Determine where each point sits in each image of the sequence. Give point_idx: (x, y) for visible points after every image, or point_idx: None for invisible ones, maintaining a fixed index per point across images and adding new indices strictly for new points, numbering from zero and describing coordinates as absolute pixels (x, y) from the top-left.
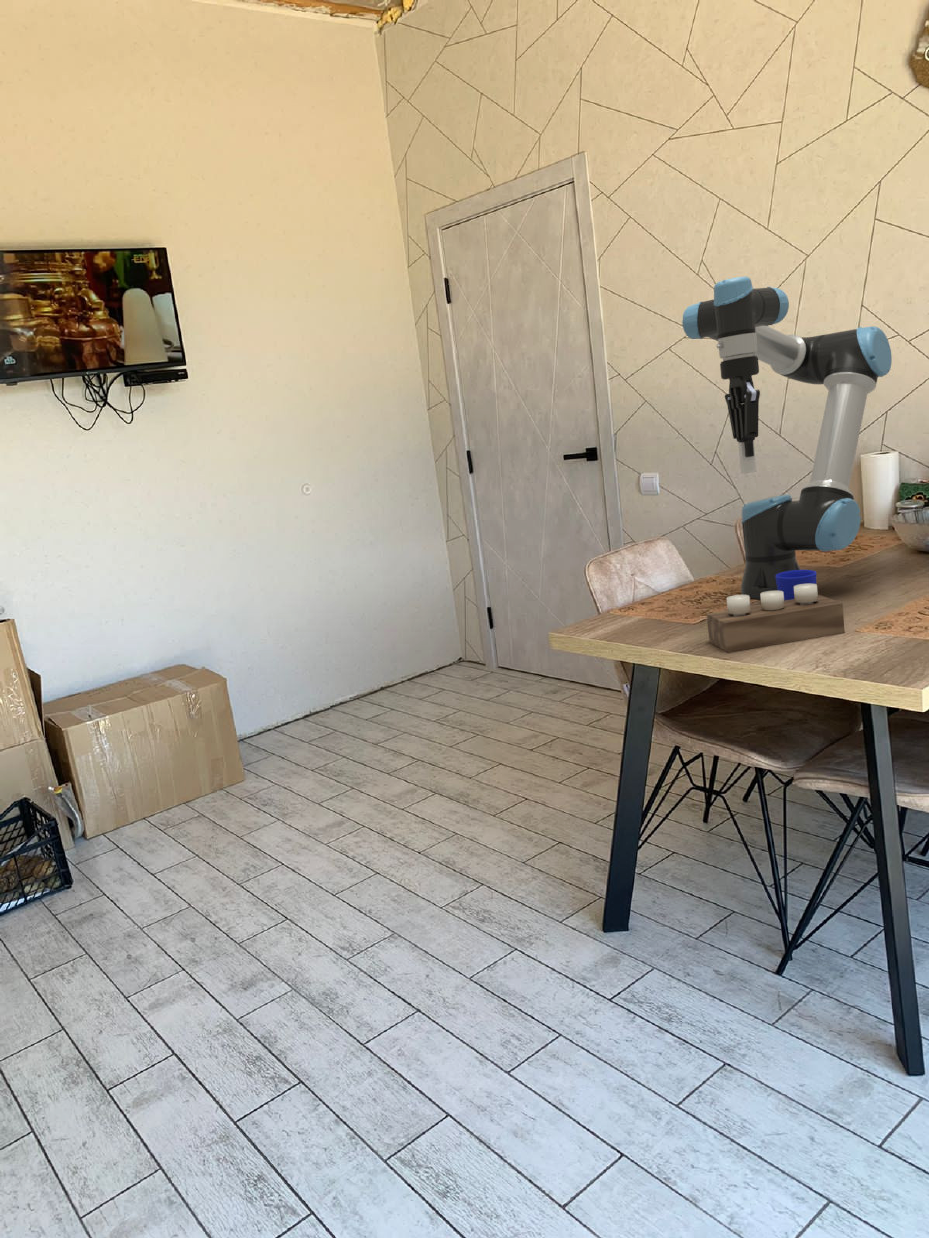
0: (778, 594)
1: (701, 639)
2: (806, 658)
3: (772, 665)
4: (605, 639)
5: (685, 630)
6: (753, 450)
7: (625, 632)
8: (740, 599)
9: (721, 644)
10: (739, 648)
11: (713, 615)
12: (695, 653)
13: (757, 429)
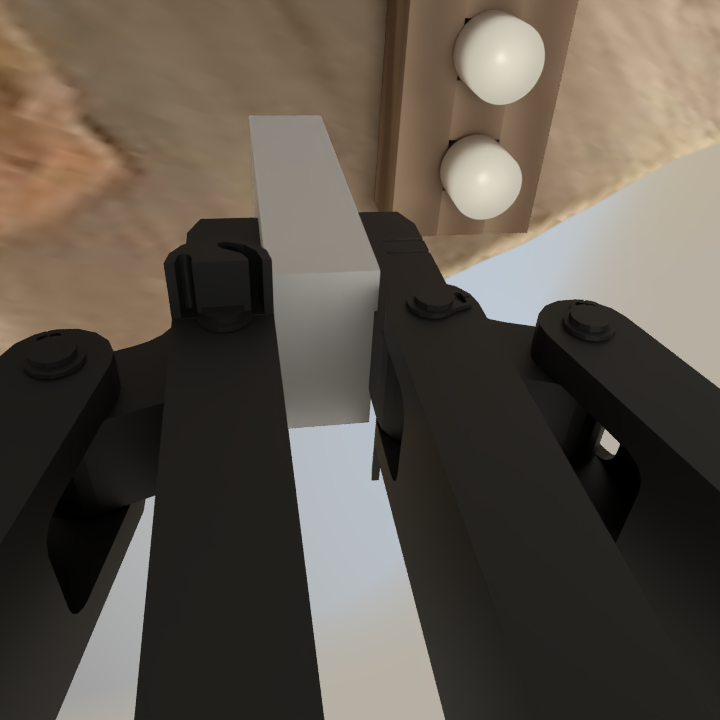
0: (544, 56)
1: None
2: (686, 59)
3: (664, 151)
4: None
5: (202, 214)
6: (424, 245)
7: (125, 346)
8: (519, 190)
9: None
10: None
11: (424, 228)
12: (448, 258)
13: (689, 381)
